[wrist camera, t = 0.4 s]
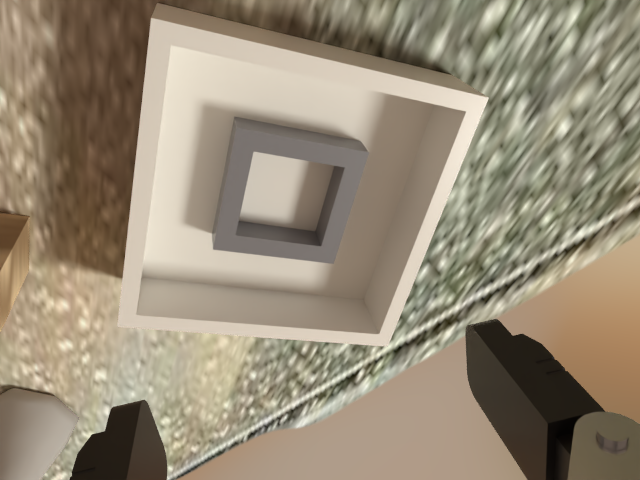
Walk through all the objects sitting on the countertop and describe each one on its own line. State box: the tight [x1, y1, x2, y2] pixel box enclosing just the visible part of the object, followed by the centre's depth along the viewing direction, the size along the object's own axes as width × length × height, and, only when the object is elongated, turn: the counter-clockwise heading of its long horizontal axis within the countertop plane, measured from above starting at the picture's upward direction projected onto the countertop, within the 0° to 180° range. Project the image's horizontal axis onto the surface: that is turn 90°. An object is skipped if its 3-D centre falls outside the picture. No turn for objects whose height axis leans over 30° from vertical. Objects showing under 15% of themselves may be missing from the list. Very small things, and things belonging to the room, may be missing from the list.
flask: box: [0, 388, 79, 480], centre depth 38 cm, size 7×7×10 cm
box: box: [117, 3, 488, 346], centre depth 34 cm, size 18×18×5 cm
